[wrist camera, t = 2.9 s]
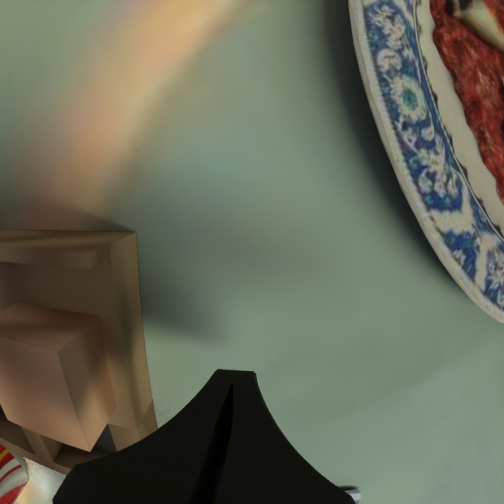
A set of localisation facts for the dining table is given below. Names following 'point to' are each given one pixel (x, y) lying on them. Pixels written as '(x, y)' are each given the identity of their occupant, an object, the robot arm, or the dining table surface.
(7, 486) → the soda can
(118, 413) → the wooden compartment tray
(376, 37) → the ceramic plate
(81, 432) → the block
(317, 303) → the dining table surface
